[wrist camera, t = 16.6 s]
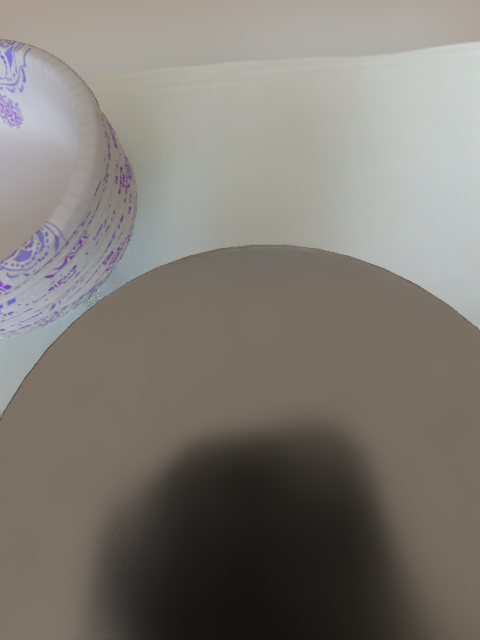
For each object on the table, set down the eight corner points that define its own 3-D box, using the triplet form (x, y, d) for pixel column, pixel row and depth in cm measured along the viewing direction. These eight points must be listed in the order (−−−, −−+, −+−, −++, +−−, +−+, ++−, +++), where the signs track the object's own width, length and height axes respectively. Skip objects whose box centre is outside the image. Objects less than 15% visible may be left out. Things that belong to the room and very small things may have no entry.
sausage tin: (308, 545, 14) (600, 1347, 2) (175, 485, 15) (-198, 758, 3) (348, 402, 15) (653, 336, 3) (225, 357, 16) (121, 182, 4)
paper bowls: (12, 405, 20) (-146, 398, 12) (-102, 245, 23) (-278, 161, 16) (201, 239, 22) (169, 144, 14) (70, 117, 26) (-11, -10, 18)
